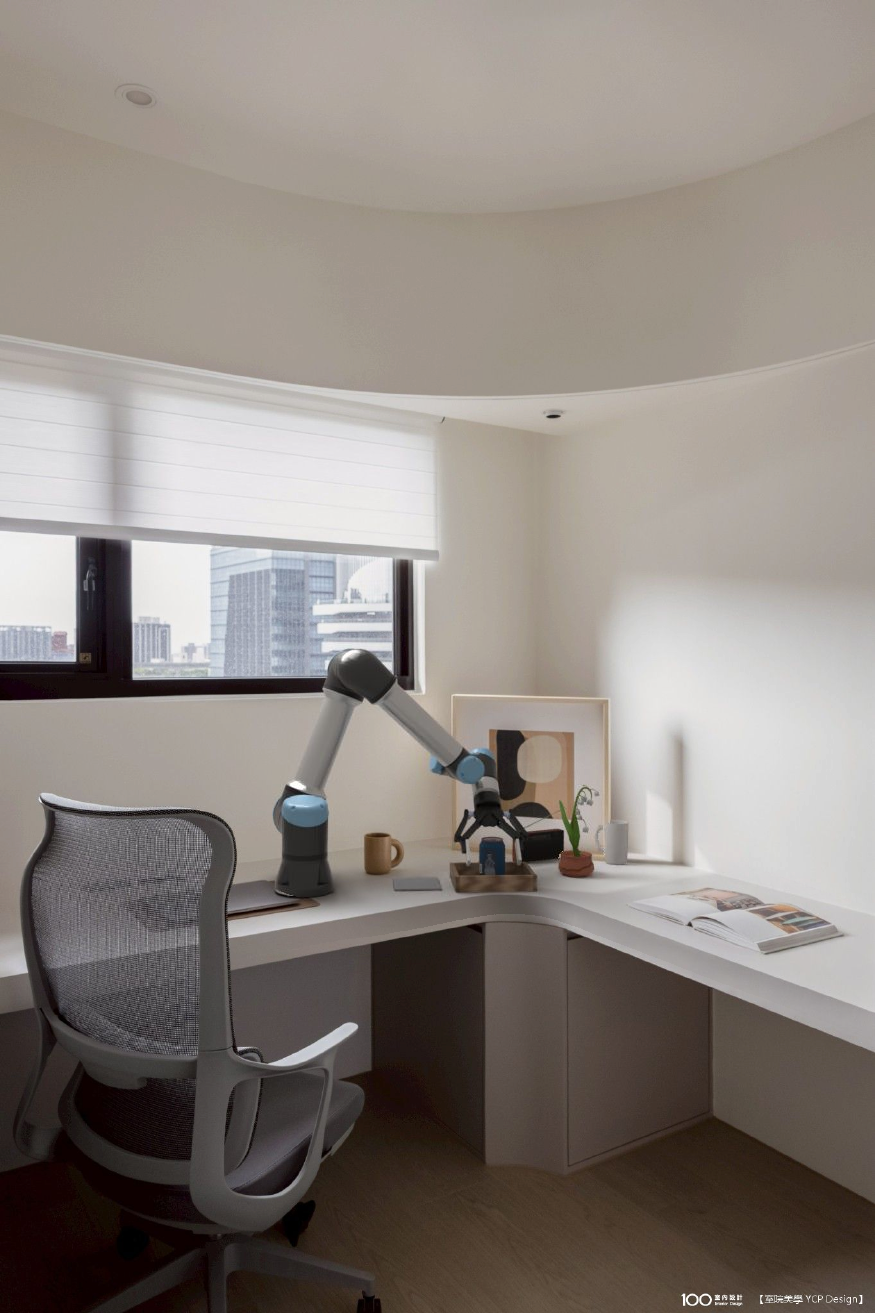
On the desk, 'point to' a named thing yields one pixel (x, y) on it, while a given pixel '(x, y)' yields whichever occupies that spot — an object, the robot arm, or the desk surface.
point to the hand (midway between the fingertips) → (494, 863)
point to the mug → (614, 841)
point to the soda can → (492, 856)
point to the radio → (541, 845)
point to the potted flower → (576, 841)
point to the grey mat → (416, 883)
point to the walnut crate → (492, 878)
